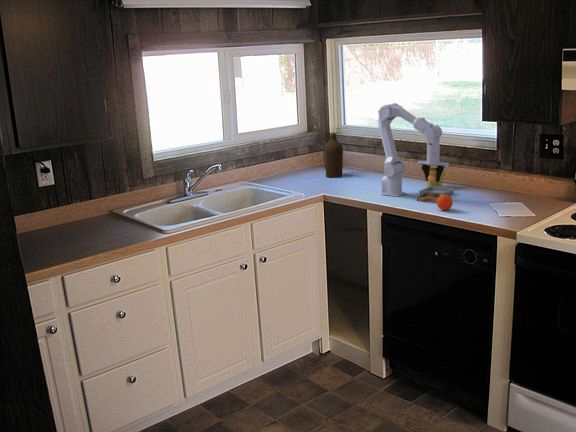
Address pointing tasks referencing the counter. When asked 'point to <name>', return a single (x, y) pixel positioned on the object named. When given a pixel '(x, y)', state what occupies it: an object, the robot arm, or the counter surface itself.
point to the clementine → (444, 202)
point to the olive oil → (333, 157)
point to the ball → (432, 178)
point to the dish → (437, 190)
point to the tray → (428, 197)
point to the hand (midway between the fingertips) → (432, 181)
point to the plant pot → (437, 184)
